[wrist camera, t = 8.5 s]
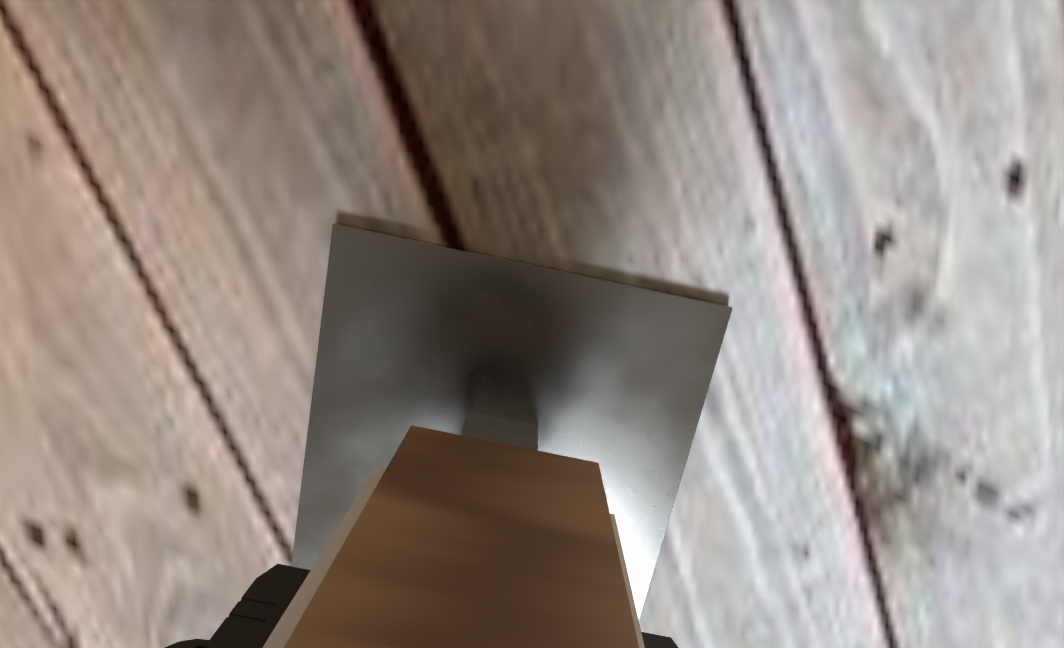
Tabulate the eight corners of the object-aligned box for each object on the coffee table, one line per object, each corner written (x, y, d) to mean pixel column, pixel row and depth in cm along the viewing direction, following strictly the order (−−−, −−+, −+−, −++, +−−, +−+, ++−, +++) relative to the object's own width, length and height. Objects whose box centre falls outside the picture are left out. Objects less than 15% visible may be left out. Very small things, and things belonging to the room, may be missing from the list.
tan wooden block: (383, 586, 16) (234, 954, 8) (411, 425, 14) (267, 676, 7) (557, 620, 16) (573, 1010, 8) (598, 462, 15) (661, 748, 7)
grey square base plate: (295, 567, 22) (195, 716, 15) (337, 223, 18) (234, 235, 12) (631, 630, 22) (667, 800, 16) (728, 305, 19) (821, 356, 13)
